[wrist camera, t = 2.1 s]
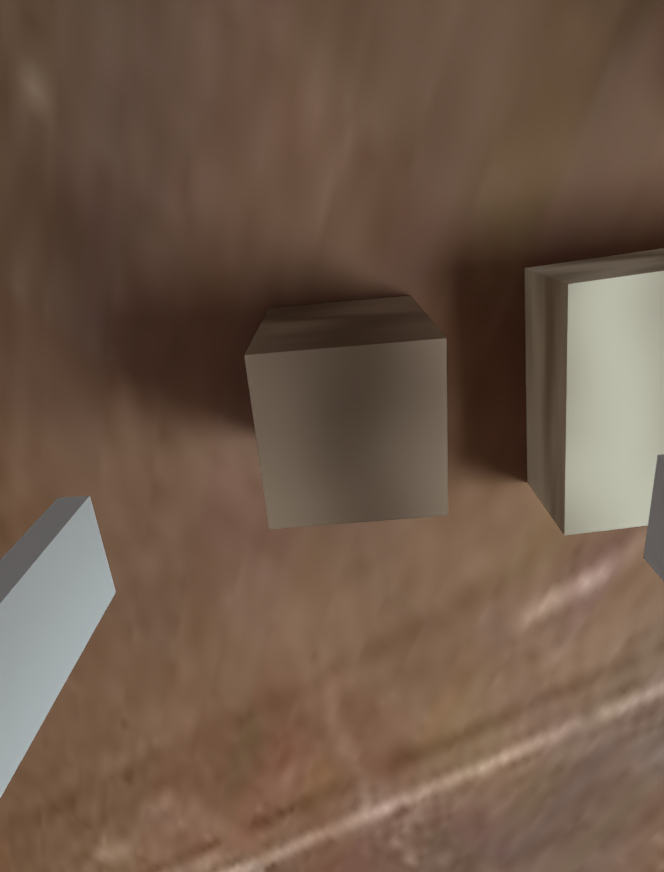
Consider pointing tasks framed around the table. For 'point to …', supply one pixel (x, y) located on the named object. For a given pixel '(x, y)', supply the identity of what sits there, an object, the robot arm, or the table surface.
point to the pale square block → (595, 388)
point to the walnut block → (350, 412)
